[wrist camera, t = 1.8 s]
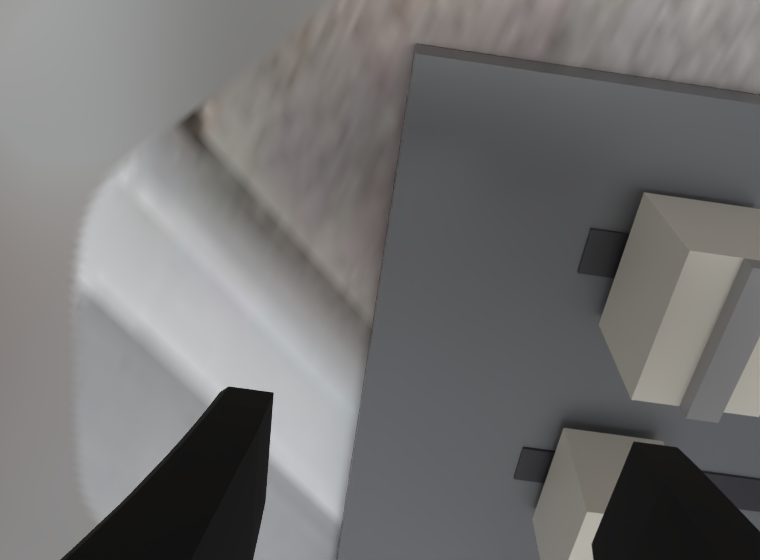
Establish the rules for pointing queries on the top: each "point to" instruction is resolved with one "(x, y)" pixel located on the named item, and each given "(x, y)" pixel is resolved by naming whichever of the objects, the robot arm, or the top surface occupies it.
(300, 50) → the top surface
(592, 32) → the top surface
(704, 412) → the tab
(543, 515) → the middle tab
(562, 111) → the switch board
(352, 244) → the top surface
